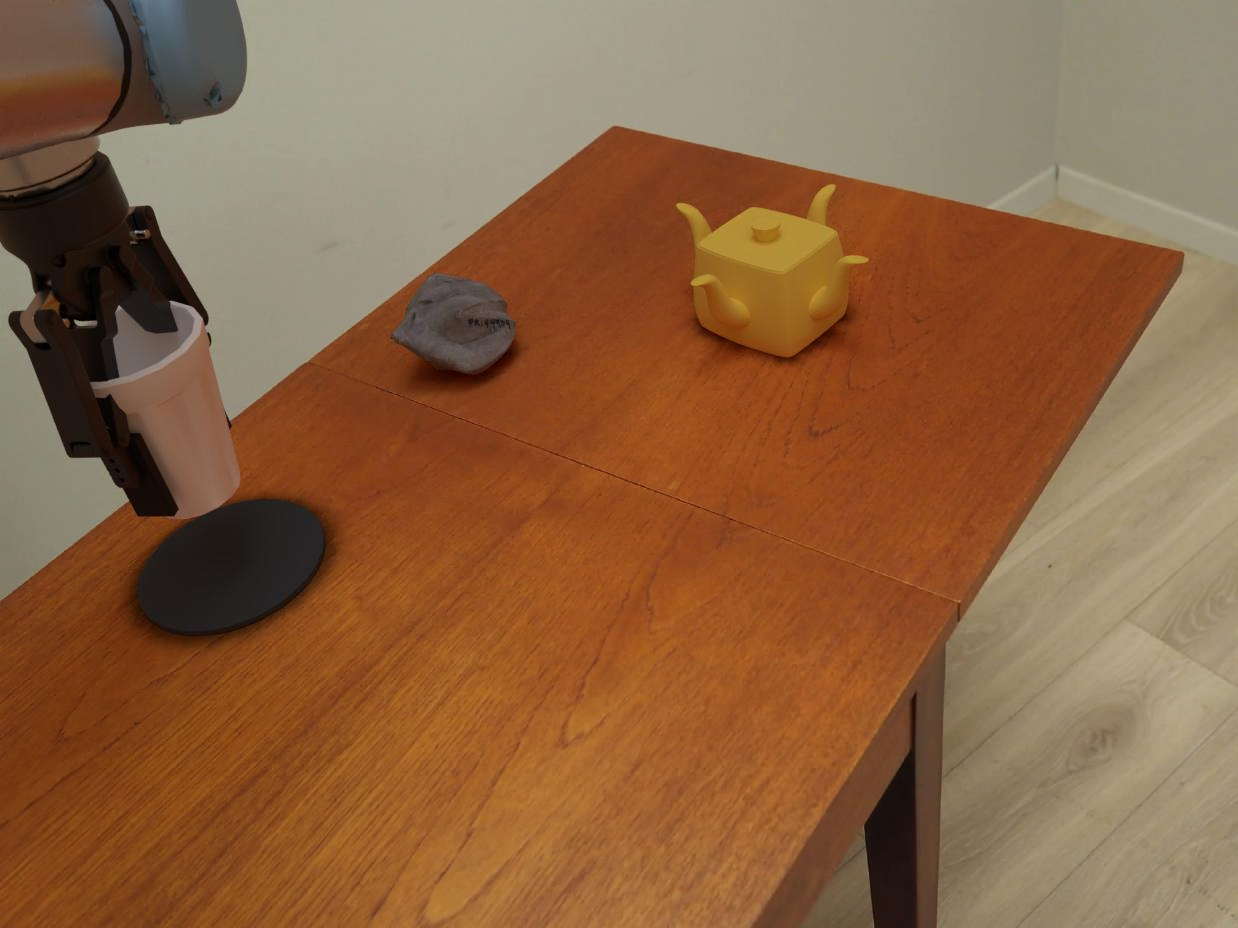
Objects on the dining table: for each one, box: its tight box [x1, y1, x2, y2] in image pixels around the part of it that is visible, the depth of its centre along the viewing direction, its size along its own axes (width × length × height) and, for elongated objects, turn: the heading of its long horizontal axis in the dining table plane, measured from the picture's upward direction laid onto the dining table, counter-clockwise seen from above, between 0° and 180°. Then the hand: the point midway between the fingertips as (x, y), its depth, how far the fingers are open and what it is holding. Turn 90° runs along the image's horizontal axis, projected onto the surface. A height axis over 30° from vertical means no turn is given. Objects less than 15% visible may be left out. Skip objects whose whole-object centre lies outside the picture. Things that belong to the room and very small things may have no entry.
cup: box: [81, 301, 241, 520], centre depth 79 cm, size 10×10×13 cm
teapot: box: [675, 183, 869, 358], centre depth 100 cm, size 15×14×10 cm
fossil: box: [390, 272, 517, 376], centre depth 102 cm, size 11×9×8 cm
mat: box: [136, 498, 326, 636], centre depth 88 cm, size 14×14×1 cm
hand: (186, 469), depth 82 cm, fingers closed on cup, 8 cm apart
